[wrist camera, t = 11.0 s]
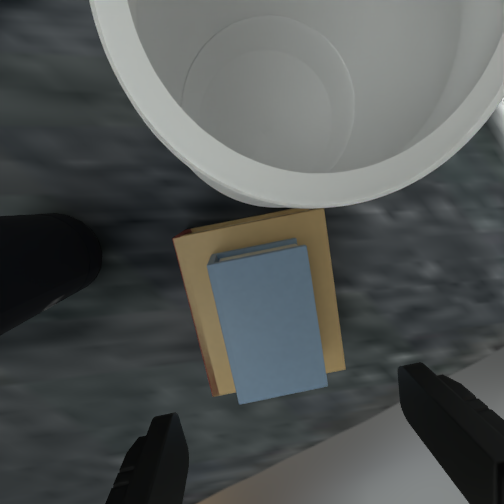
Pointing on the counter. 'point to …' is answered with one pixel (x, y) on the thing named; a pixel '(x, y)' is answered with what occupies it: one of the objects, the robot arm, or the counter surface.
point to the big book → (246, 235)
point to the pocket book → (268, 319)
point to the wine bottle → (43, 263)
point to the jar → (308, 89)
